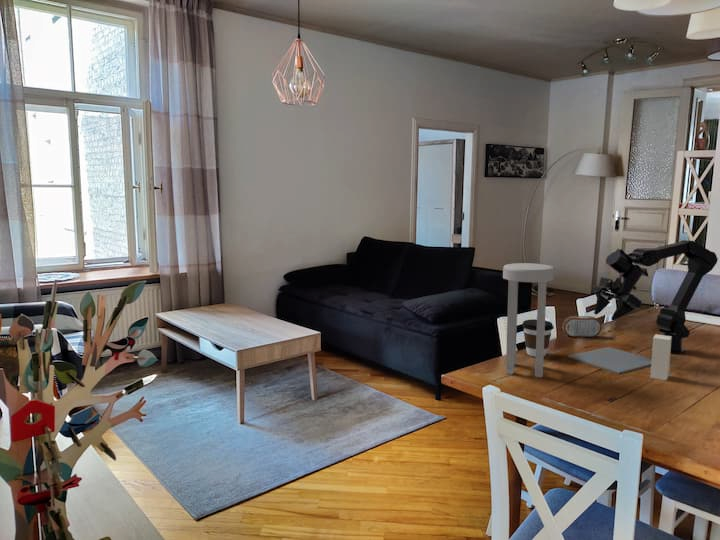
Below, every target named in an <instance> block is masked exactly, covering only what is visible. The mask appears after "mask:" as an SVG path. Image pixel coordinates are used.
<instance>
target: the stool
mask: <svg viewBox="0 0 720 540" xmlns="http://www.w3.org/2000/svg"><path fill="white" fill-rule="evenodd" d="M554 273H555V267H553V266H552V265H548V264H544V263H543V264H542V263H541V264H540V263H534V262H532V263H528V262H527V263H526V262H525V263H523V262H522V263H521V262H518V263H508V264H504V266H503V268H502V278H503V280H507V281H508V287H507V288H508V289H507V318H506V319H507V323H506V324H507V325H506V352H505V353H506V355H505V356H506V357H505V374H506V375H512V374H513V375H514V374H515V373H514V370H515V366H516V359H517V327H518V325H517V324H518V302H519V301H518V300H519V299H518V297H519V296H518V295H519V283H538V287H537V310H536V311H537V313H536V315H537V316H536V320H537V334H536V357H535V359H534V361H535V365H534V366H535V367H534V377H535V378H541V377H542V378H543V375H544V374H543V373H544V371H543V370H544V357H545V356H544V334H545V321H546V308H547V307H546V305H547V303H546V302H547V282H551V281H554V276H555V275H554Z"/></svg>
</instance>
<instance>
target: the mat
mask: <svg viewBox="0 0 720 540" xmlns="http://www.w3.org/2000/svg"><path fill="white" fill-rule="evenodd" d="M567 358H568V359H571V360H574V361H576V362H577V361H578V362H581V363H583V364H587V365H589V366H592V367H596V368H598V367H599V369H602V370H604V371H607V372H610V373H614V374H617V375H620V373H621V374H623V373H629V372H631V371H634V370H636V371H637V370H638V369H639V370H640V369H642V368H646V367H651V361H652V358H650V357H646V356H642V355H640V354H639V355H638V354H635V353H632V352H629V351H625V350H622V349H618V348H614V347H611V346H605V347H602V348H597V349H594V350H588V351H584V352H580V353H576V354H570V355H567Z"/></svg>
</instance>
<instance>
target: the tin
mask: <svg viewBox="0 0 720 540" xmlns="http://www.w3.org/2000/svg"><path fill="white" fill-rule="evenodd" d="M602 327H603V326H602V323H601V321H599V319H598V318H597V317H595V316H592V315H591V316H588V315H587V316H585V315H584V316H583V315H581V316H580V315H569V316H568V317H566V318H565V319H564V320H563V322H562V324H561V328H562V332H564V334H566V335H567V336H568V335H569V337H572V338H595V337H597V336H598V335H600V333H601V332H602Z"/></svg>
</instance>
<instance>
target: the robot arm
mask: <svg viewBox="0 0 720 540" xmlns="http://www.w3.org/2000/svg"><path fill="white" fill-rule="evenodd" d="M679 255H684V257H686V258H687V272H686V275H685V276H684V278H683V280H682V282H681V284H680V286H679V288H678V290H677V291H676V294H675V296H674V297H673V300H672V301H671V303H670V305H669V306H668V307H661V308H660V311H659V313H658V314H657V316H656V318H657V319H656V324H657V327H658V330H659V331H658V332H660V333H662V334H664V335H665V336H672V339H671V352H670V354H674V355H677V354H681V353H686V352H687V350H686V349H684V348H683V339H685V338H689V336H690V333H691V331H690V330H689V328H687V327H686V326H685V323H686V320H687V319H686V309H687V308H688V306H689V304H690V303H691V300H692V298H693V296H694V295H695V292H697V291H696V290H698V287H699V285H700V282H701V281H702V280H703V277H704V276H706V275H707V274H708V273H710V272H711V271H712V270H713V268H714V267H715V266H716V265H717V263H718V255H717V254H716V253H715V251H711V250H709V249H708V248H705V247H704V246H702V245H700V244H698V243H697V242H696V241H694V240H688V239H687V240H686V239H684V240H683V239H682V240H681V241H678V242H673V243H669V244H665V245H661V246H658V247H647V248H646V247H643V248H642V247H641V248H635V249H633V250H632V252H630V253H628V254H627V253H626V252H625V251H624V250H623V249H620V248H617V249H616V250H615V251H613V252H611V253H610V254H609V255H608V256H607V257H606V259H605V264H606V265H608V266H609V267H610V268H612V270H613V271H615V272H616V273H619V274H620V275H619V277H618V276H616V277H613V278H612V279H611V278H606V277H602V276H601V277H600V280H599V283H598V285H596V286H595V287H594V289H593V291H592V292H594V295H595V296H596V303H595V308H594V313H593V314H594V315H595V316H597V315H598V314H600V313H601V312H602V311H603V310H604V309H605V308H606V307H607V306H608V305H609V304H610V303H611V300H613V299H615V300H618V305H617V307H616V309H615V310H614V313H613V314H612V315H611V318H610V319H611V321H613V322H615V321H616V320H618V319H619V318H621V317H623V316H624V315H627V314H628V313H630V312H633V311H636V310H640V308H641V307H642V306H643V305H642V300H640V299H639V298H638V297H636V296H635V295H634V294H632V293H631V292H632V291H636V290H637V287H636V285H637V283H638V282H639V281H640V279H641V277H642V276H643V277H649V273H648V269H647V268H645V267H652V266H654V265H656V264H658V263H659V262H660V261H661V260H665V259H667V258H671V257H676V256H679ZM641 266H642V267H641ZM643 266H644V268H643Z"/></svg>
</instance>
